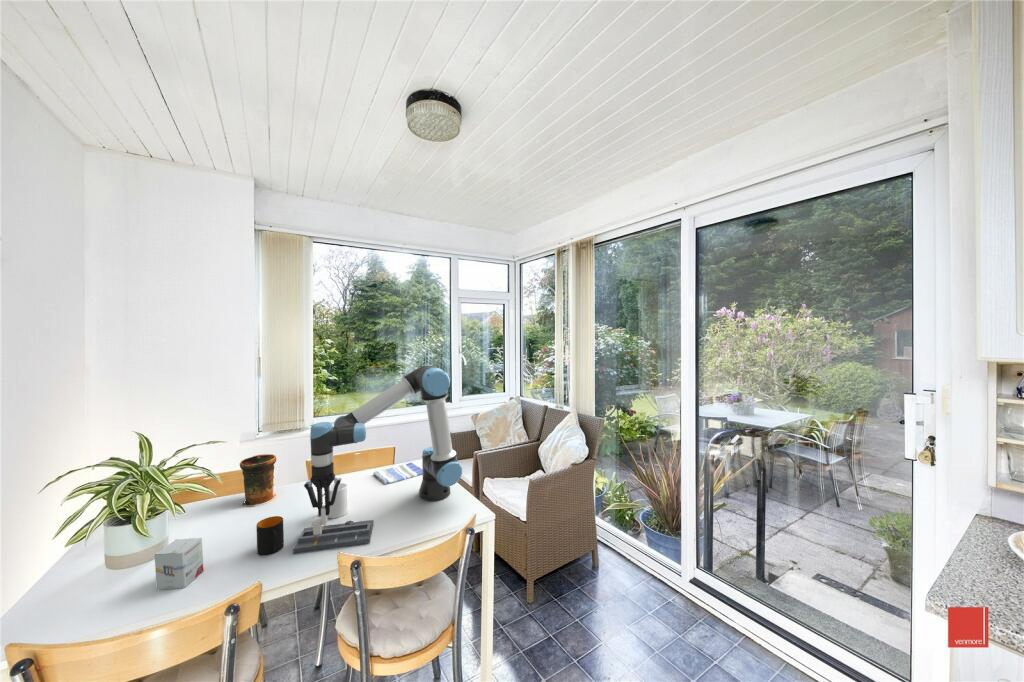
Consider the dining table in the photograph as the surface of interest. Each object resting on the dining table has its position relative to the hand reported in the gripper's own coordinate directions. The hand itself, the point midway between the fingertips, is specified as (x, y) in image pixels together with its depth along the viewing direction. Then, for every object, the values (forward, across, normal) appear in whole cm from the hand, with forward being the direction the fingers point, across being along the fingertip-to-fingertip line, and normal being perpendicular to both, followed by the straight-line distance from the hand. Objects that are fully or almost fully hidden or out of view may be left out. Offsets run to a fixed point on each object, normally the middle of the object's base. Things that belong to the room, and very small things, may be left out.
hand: (324, 523), depth 142 cm
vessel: (+7, +38, -43) cm, 58 cm away
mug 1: (+7, +17, +3) cm, 18 cm away
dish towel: (+8, -25, -58) cm, 63 cm away
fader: (+4, +2, 0) cm, 5 cm away
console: (+7, -4, 0) cm, 8 cm away
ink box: (+6, +40, +13) cm, 43 cm away
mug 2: (+7, +1, -20) cm, 21 cm away
